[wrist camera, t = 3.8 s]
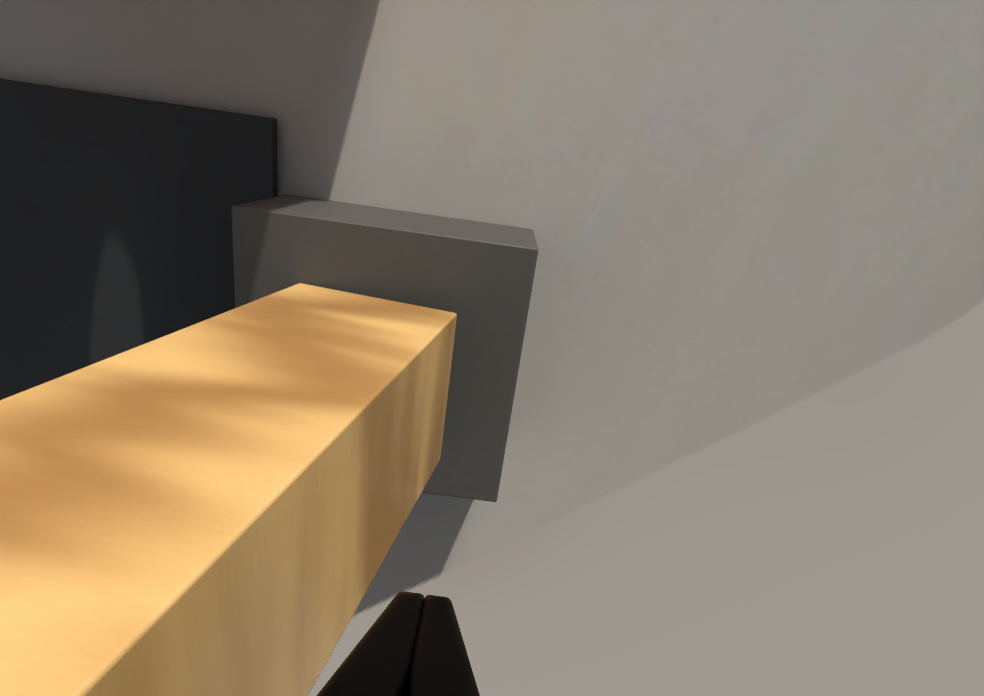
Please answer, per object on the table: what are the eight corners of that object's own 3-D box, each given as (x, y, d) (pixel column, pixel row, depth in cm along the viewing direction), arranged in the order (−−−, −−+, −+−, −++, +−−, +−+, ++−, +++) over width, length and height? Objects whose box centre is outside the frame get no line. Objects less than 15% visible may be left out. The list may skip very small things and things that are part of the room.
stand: (532, 229, 19) (538, 248, 15) (498, 443, 22) (496, 502, 19) (285, 194, 19) (230, 205, 15) (286, 415, 22) (240, 468, 18)
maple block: (457, 312, 15) (-80, 856, 3) (440, 459, 17) (48, 1164, 5) (299, 281, 16) (-625, 639, 4) (298, 426, 18) (-344, 974, 6)
